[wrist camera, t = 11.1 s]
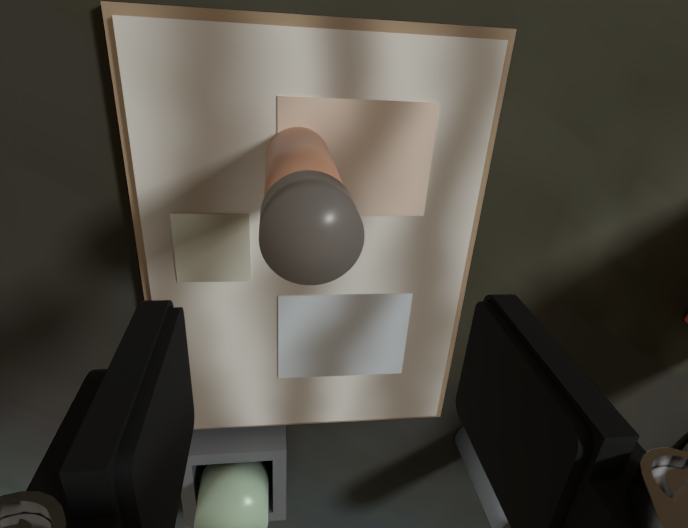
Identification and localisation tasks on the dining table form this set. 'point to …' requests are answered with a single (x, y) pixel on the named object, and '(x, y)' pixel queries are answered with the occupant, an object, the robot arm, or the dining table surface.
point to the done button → (233, 496)
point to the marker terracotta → (307, 212)
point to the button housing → (237, 449)
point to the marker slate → (480, 481)
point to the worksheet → (356, 174)
